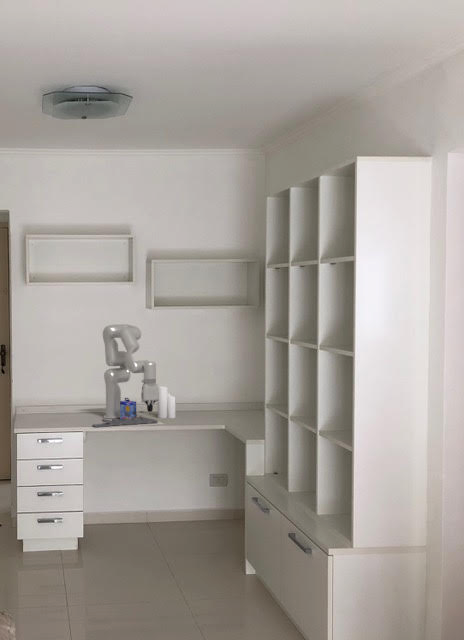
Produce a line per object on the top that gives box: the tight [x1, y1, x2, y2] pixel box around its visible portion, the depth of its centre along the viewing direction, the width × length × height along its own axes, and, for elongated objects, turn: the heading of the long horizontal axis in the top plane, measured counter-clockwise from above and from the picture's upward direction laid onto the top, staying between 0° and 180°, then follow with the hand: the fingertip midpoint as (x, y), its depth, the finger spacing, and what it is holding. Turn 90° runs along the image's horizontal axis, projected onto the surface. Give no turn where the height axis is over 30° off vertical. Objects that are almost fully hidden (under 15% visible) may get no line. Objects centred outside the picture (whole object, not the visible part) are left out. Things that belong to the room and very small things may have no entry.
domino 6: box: [139, 415, 159, 423], centre depth 582 cm, size 2×5×10 cm
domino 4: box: [121, 418, 140, 425], centre depth 577 cm, size 2×5×10 cm
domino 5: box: [131, 417, 149, 424], centre depth 579 cm, size 2×5×10 cm
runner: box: [109, 420, 165, 428], centre depth 578 cm, size 12×35×1 cm, turn 116°
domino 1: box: [91, 422, 111, 429], centre depth 569 cm, size 2×5×10 cm
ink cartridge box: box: [119, 397, 138, 420], centre depth 597 cm, size 10×6×14 cm, turn 51°
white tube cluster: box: [157, 385, 176, 419], centre depth 608 cm, size 11×7×20 cm, turn 96°
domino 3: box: [111, 418, 130, 425], centre depth 574 cm, size 2×5×10 cm
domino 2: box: [101, 418, 121, 426], centre depth 571 cm, size 2×5×10 cm
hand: (150, 411), depth 582 cm, fingers closed
